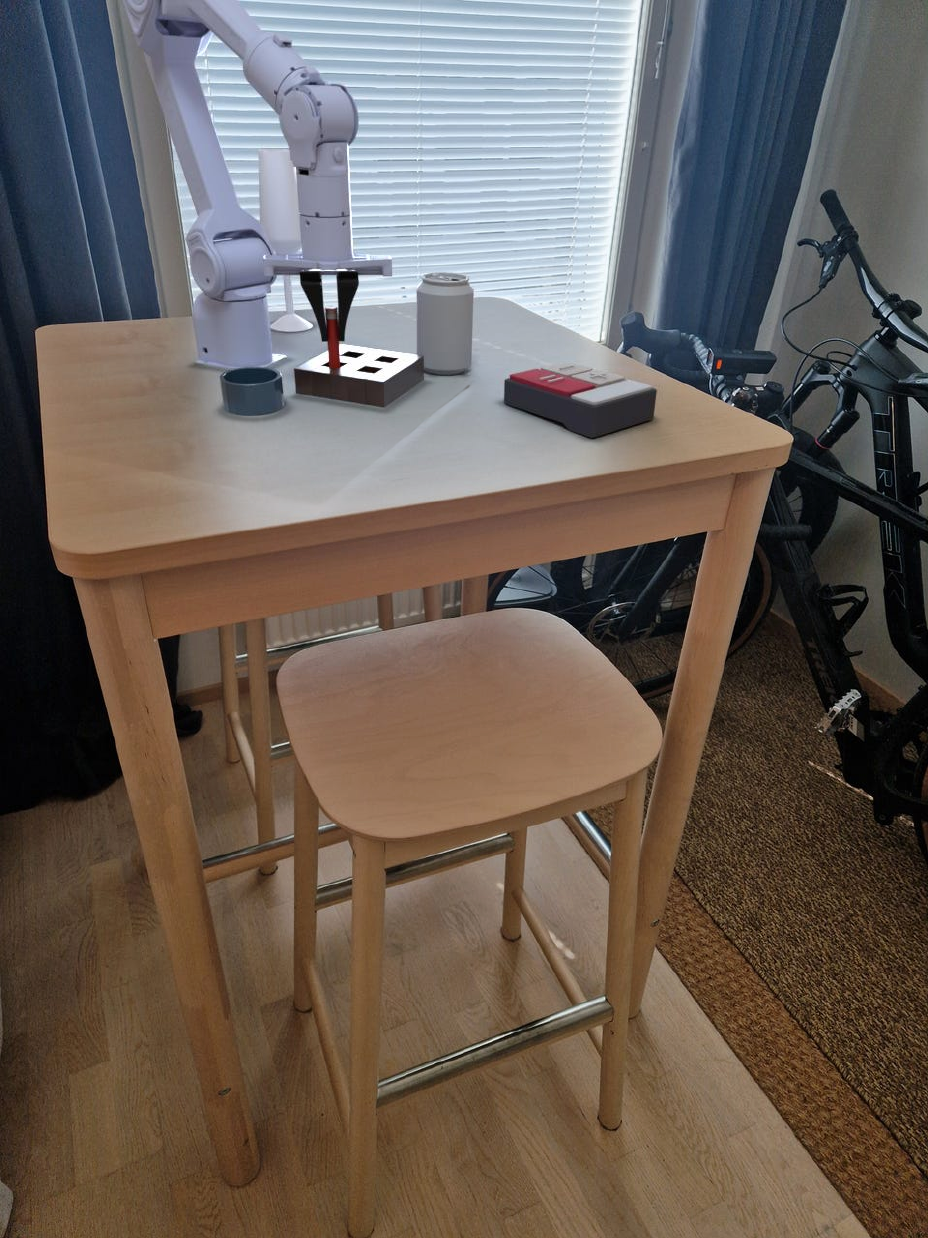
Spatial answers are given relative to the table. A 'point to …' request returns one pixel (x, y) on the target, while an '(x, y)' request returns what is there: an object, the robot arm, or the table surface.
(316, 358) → the pencil stand
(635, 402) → the calculator
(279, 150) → the champagne flute
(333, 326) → the pencil
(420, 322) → the can
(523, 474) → the table surface
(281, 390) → the cup
